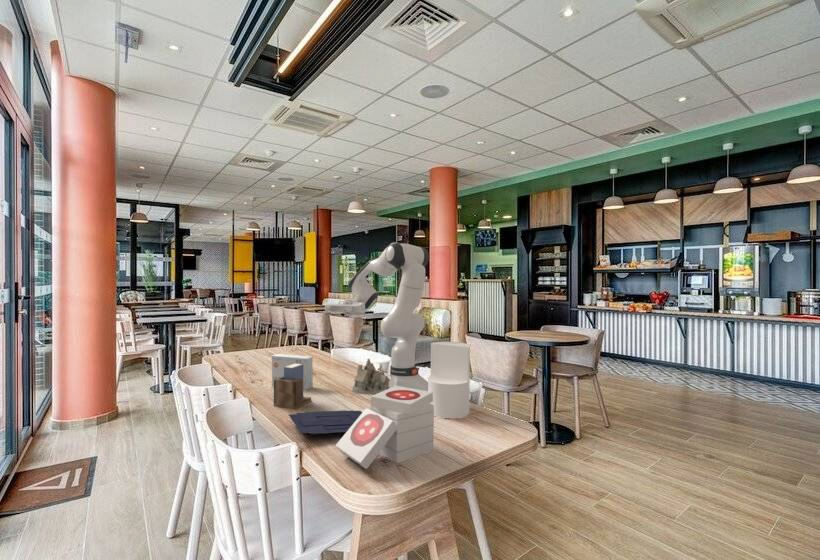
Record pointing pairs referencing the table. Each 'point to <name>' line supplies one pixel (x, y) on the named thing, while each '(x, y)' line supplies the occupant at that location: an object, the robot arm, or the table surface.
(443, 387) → the cylinder
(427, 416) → the pizza boxes
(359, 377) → the grey rock
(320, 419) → the navy flat slab
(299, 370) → the tall blue pillar
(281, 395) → the shelf
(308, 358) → the skincare box
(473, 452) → the table surface
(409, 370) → the robot arm
